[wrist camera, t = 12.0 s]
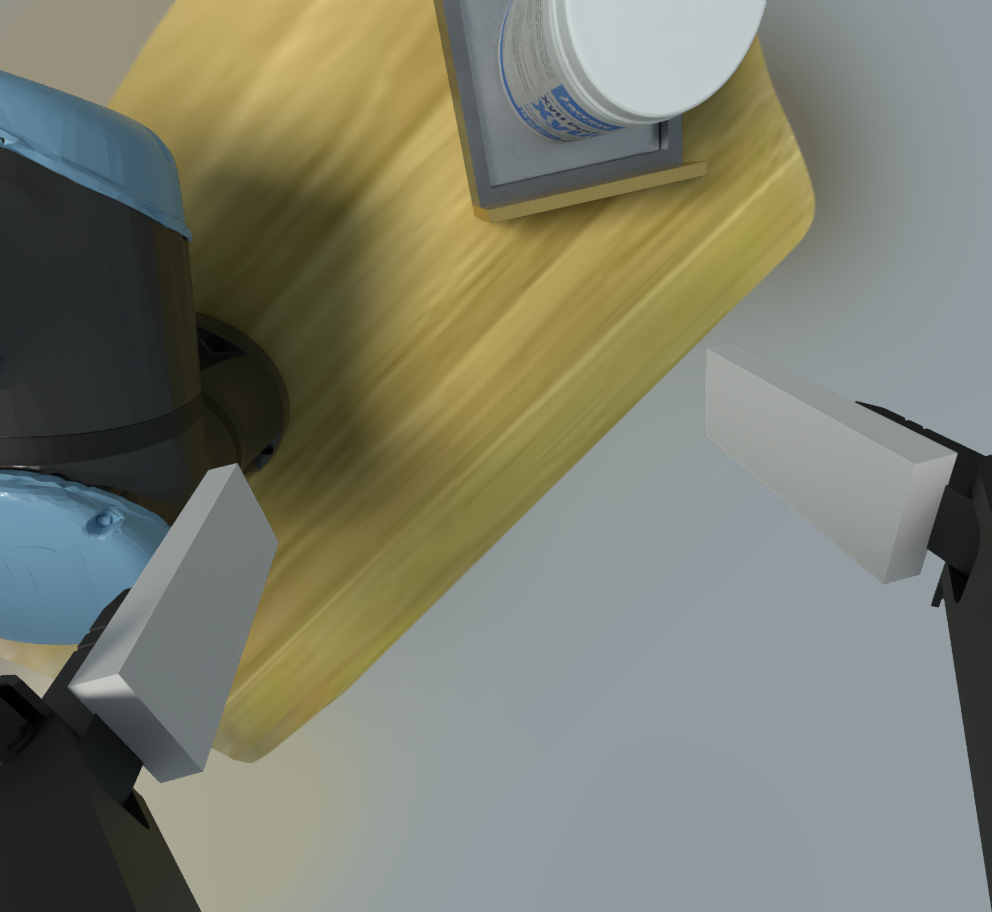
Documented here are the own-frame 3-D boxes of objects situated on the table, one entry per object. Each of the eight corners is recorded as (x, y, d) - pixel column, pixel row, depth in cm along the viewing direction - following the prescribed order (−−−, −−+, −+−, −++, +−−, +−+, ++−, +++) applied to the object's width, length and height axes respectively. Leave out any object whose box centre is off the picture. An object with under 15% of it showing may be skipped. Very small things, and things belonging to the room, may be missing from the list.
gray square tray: (474, 215, 40) (490, 223, 33) (423, -53, 33) (430, -115, 26) (655, 175, 41) (707, 174, 34) (647, -97, 33) (713, -169, 26)
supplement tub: (506, 153, 36) (565, 139, 23) (484, -25, 31) (543, -166, 18) (638, 130, 37) (766, 104, 24) (635, -48, 32) (793, -199, 19)
